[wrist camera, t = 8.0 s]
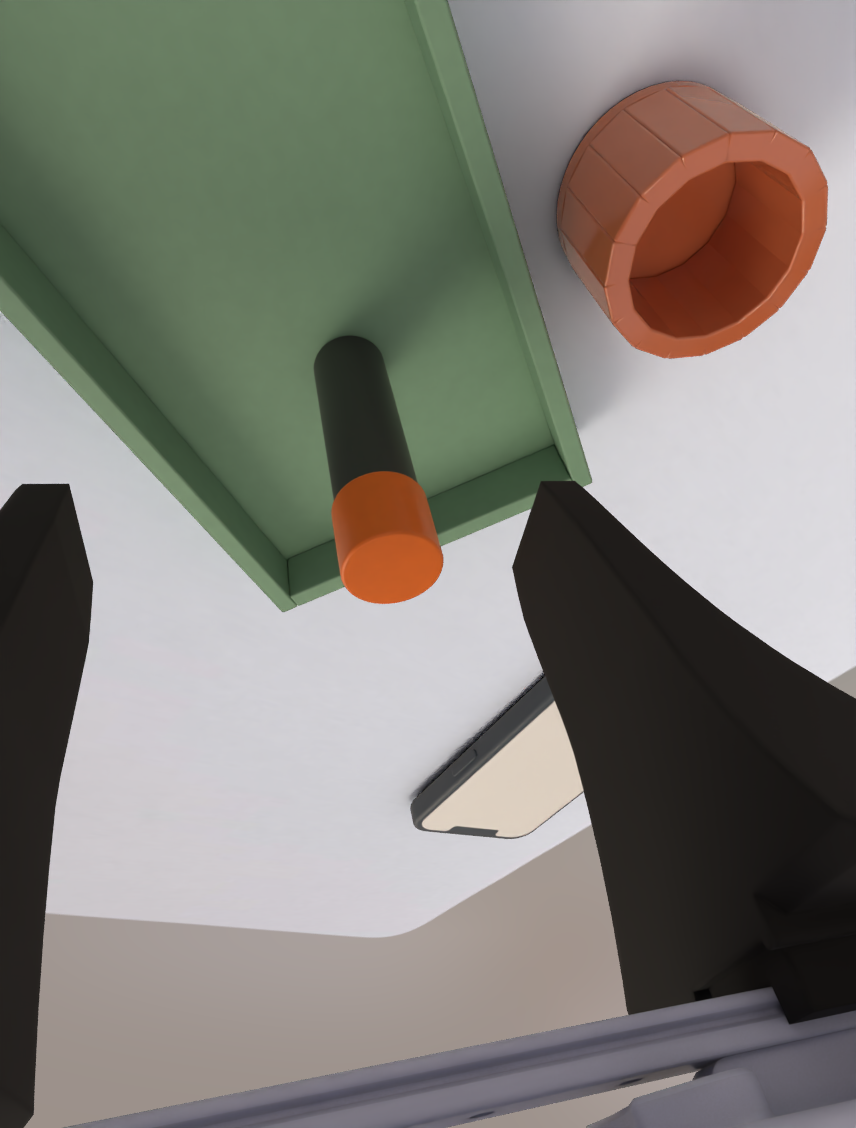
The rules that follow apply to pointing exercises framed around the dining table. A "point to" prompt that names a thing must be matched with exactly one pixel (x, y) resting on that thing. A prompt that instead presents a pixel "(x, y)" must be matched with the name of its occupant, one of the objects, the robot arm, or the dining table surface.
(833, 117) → the dining table surface
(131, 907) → the dining table surface
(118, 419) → the tray
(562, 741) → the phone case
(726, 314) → the pen pot
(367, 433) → the marker
